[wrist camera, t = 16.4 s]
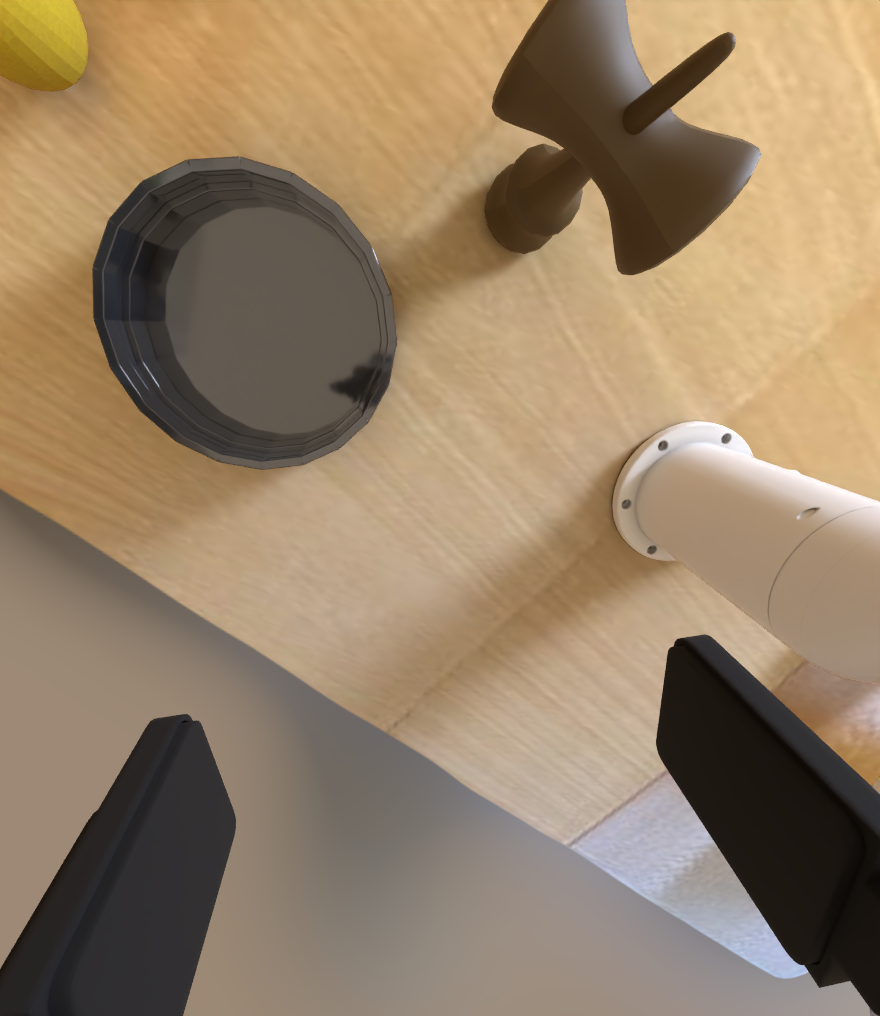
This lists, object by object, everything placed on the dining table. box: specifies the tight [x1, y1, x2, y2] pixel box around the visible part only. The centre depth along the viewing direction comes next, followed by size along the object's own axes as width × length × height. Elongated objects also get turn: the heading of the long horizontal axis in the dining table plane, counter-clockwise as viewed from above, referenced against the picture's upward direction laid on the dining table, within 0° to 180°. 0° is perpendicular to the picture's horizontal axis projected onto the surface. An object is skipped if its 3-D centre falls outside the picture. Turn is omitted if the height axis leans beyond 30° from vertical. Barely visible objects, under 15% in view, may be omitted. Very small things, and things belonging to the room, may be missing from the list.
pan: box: [92, 157, 397, 470], centre depth 30 cm, size 17×17×4 cm
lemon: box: [0, 0, 88, 91], centre depth 22 cm, size 6×6×8 cm
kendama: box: [485, 0, 761, 275], centre depth 22 cm, size 6×10×20 cm, turn 50°
